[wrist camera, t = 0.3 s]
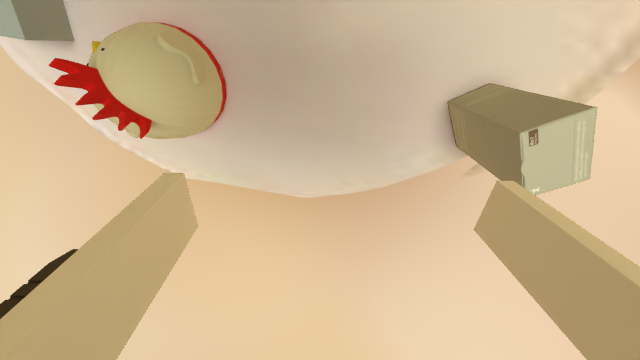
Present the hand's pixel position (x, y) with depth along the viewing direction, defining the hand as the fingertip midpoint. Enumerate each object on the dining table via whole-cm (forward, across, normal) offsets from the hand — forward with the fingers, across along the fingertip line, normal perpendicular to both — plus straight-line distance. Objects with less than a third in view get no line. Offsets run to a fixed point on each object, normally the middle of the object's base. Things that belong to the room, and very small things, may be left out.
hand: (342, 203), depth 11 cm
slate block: (+28, -34, +8) cm, 44 cm away
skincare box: (+28, +23, -3) cm, 36 cm away
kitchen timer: (+28, -20, 0) cm, 34 cm away
